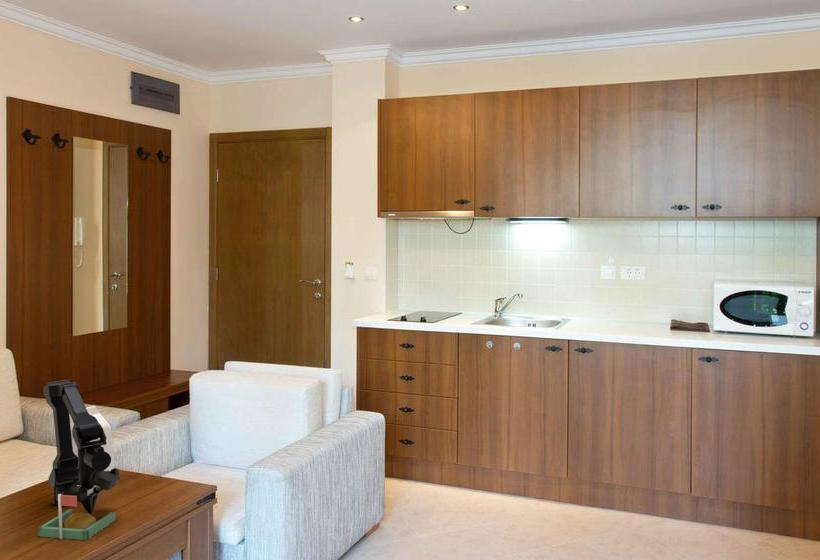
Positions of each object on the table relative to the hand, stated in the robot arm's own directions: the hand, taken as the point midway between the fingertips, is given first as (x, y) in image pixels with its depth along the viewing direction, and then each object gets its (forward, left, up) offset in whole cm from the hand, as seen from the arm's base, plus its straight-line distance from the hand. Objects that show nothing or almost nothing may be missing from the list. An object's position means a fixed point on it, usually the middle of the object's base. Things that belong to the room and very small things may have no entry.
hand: (90, 513), depth 216 cm
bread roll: (0, -5, -2) cm, 5 cm away
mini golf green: (0, -6, -2) cm, 6 cm away
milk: (-22, +32, -2) cm, 39 cm away
